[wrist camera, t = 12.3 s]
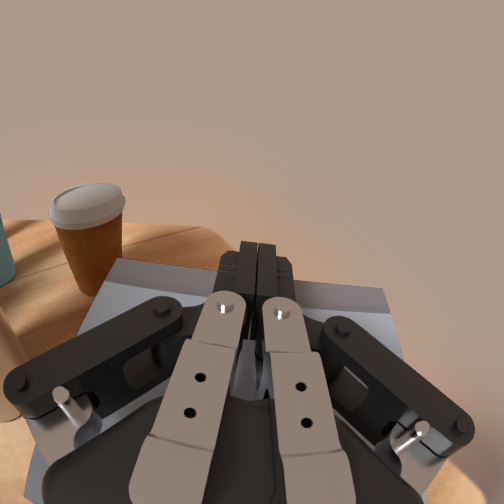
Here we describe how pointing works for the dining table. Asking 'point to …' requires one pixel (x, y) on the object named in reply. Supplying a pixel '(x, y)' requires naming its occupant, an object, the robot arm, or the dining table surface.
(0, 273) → the data package
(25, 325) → the dining table surface
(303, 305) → the lid
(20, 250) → the dining table surface
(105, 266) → the disposable coffee cup
